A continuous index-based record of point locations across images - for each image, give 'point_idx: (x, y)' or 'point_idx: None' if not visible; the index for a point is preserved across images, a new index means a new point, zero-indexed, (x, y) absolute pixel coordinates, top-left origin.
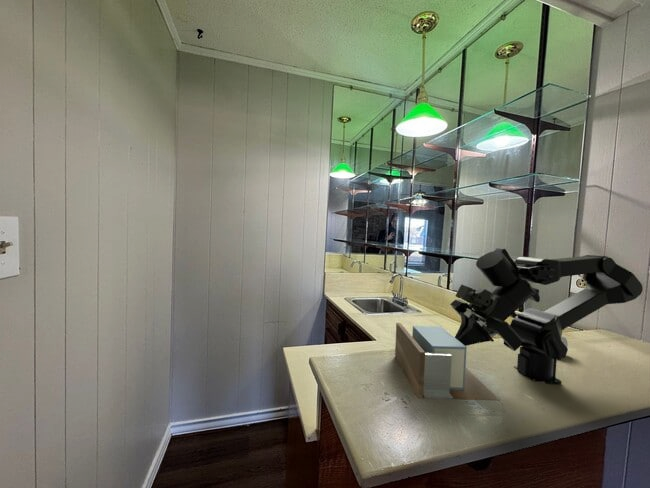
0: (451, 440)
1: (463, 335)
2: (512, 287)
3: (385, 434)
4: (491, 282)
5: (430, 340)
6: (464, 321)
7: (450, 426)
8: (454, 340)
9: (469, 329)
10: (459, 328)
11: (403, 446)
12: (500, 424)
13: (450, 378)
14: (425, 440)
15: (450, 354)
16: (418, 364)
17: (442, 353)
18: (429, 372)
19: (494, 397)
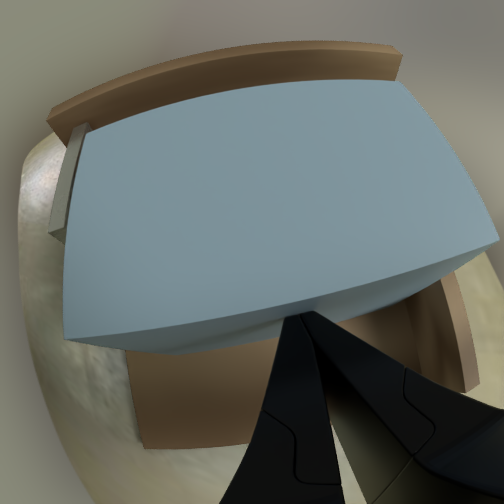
0: (30, 256)
1: (265, 403)
2: None
3: (56, 159)
4: None
5: (157, 120)
6: (478, 464)
7: (52, 263)
8: (178, 283)
9: (251, 499)
10: (427, 383)
11: (35, 184)
12: (64, 386)
13: None
14: (36, 213)
15: (57, 229)
16: None
17: (68, 191)
18: None
19: (153, 439)
